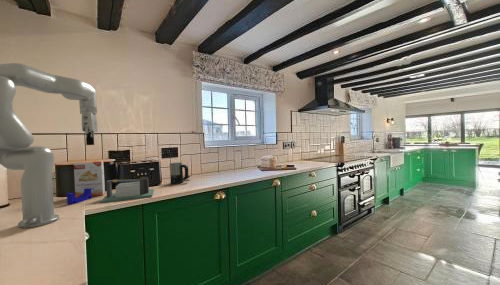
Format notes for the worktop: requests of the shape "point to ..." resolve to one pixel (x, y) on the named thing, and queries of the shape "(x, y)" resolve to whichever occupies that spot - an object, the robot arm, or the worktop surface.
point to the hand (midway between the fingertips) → (90, 144)
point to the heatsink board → (113, 198)
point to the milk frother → (178, 172)
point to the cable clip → (73, 200)
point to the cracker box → (89, 178)
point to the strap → (126, 180)
